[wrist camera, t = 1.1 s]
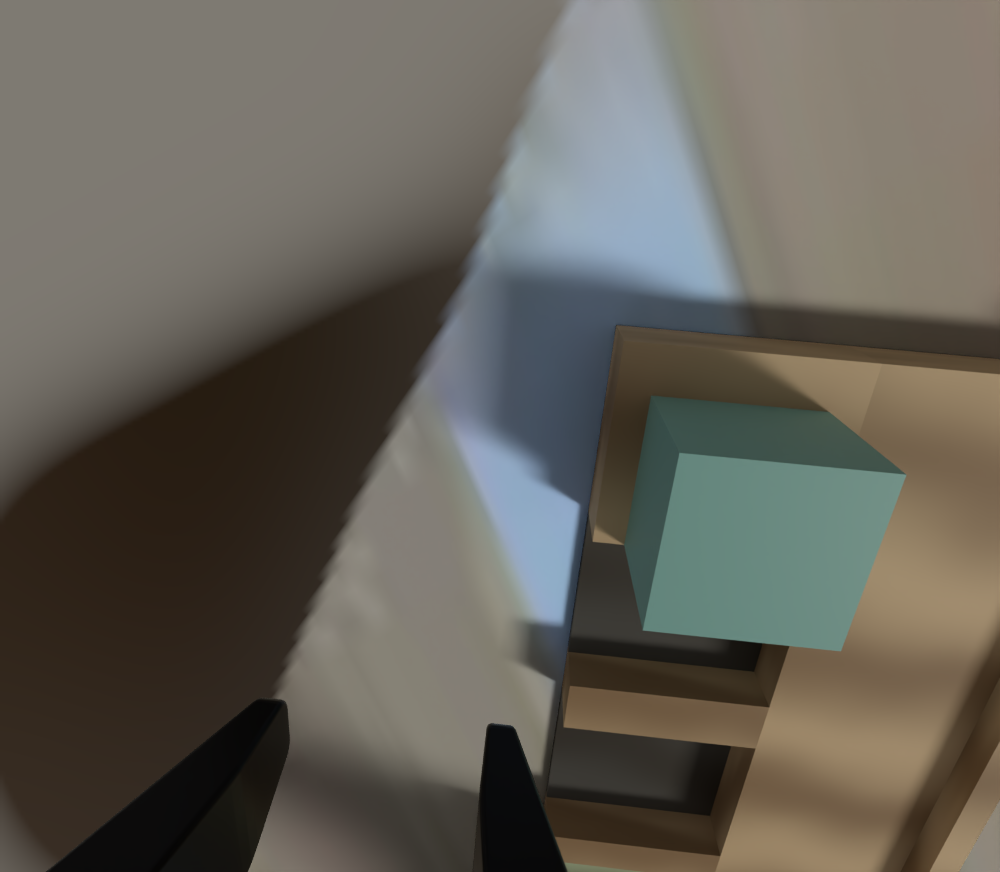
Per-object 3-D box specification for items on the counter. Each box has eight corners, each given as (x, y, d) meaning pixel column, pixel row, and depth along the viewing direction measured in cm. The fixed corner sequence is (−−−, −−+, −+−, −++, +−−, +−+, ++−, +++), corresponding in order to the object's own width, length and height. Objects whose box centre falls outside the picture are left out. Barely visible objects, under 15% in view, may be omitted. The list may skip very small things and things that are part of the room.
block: (784, 561, 19) (840, 651, 15) (624, 544, 19) (642, 630, 16) (829, 411, 17) (906, 474, 14) (651, 395, 17) (679, 452, 14)
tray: (845, 936, 29) (888, 1046, 25) (509, 895, 30) (504, 997, 26) (1121, 370, 18) (1269, 417, 14) (583, 322, 19) (592, 356, 15)
